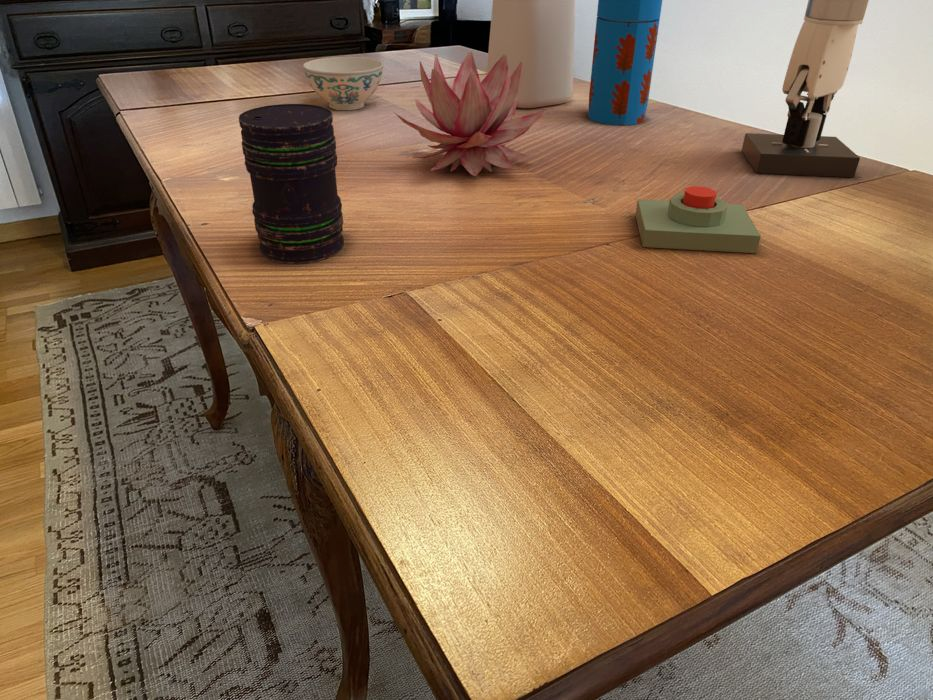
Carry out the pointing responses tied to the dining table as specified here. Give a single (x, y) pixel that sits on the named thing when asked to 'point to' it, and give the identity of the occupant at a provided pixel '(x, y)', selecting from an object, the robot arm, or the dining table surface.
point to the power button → (699, 197)
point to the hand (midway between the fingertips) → (801, 140)
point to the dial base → (799, 156)
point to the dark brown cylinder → (293, 181)
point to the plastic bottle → (535, 47)
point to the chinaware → (344, 80)
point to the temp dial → (812, 130)
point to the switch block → (696, 226)
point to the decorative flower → (473, 116)
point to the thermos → (623, 60)
